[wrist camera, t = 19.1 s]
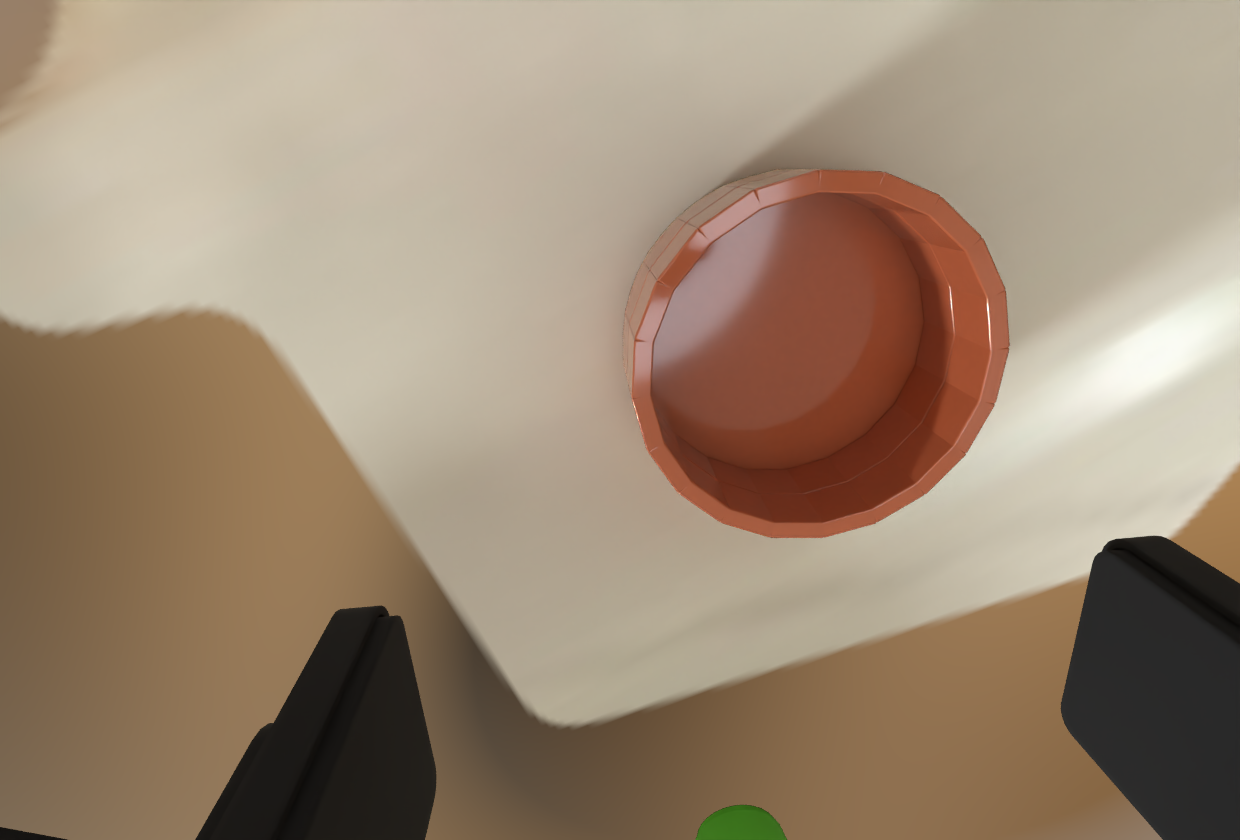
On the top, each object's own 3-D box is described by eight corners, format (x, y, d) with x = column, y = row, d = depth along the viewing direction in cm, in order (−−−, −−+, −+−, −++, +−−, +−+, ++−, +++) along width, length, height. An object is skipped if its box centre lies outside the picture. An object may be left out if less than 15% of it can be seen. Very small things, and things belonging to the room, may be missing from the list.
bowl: (629, 163, 26) (641, 161, 20) (961, 176, 26) (1053, 178, 21) (617, 475, 30) (625, 538, 25) (899, 477, 31) (962, 538, 26)
